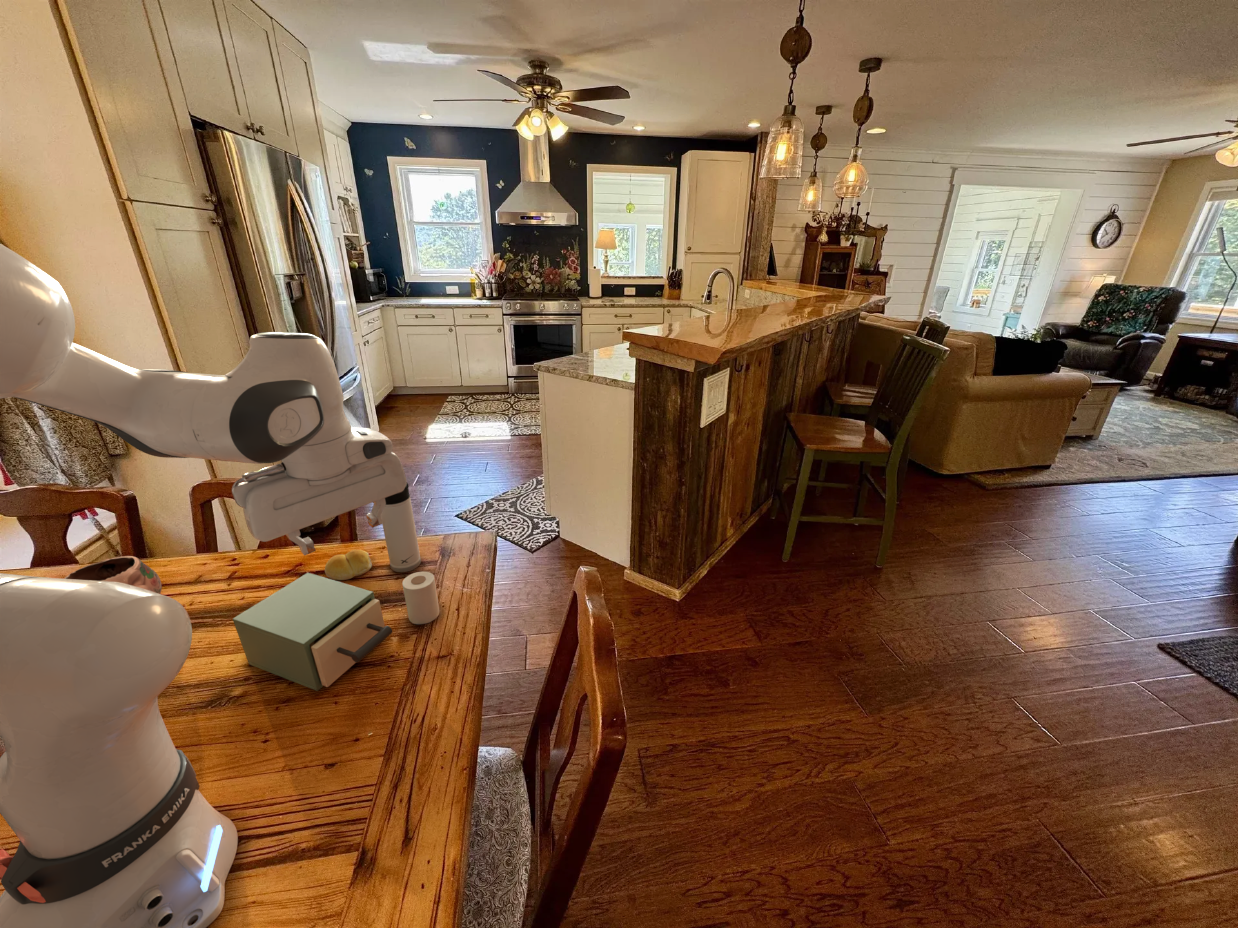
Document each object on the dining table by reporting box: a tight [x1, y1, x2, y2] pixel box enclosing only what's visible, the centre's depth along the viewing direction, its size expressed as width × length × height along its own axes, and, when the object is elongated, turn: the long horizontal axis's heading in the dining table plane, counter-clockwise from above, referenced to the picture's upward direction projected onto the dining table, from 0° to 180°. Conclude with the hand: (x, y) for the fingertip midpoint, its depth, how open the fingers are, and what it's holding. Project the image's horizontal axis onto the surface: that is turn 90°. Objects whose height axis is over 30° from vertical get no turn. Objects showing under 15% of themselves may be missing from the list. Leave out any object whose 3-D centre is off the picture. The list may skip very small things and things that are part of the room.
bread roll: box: [324, 549, 373, 581], centre depth 107 cm, size 8×9×4 cm
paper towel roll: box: [401, 571, 441, 625], centre depth 93 cm, size 6×6×8 cm
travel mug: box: [381, 482, 422, 573], centre depth 106 cm, size 6×7×20 cm
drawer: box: [309, 598, 393, 688], centre depth 83 cm, size 19×12×8 cm, turn 70°
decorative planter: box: [63, 555, 163, 594], centre depth 87 cm, size 20×12×14 cm, turn 49°
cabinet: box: [232, 572, 376, 692], centre depth 84 cm, size 16×14×10 cm
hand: (343, 537), depth 72 cm, fingers open, 8 cm apart
